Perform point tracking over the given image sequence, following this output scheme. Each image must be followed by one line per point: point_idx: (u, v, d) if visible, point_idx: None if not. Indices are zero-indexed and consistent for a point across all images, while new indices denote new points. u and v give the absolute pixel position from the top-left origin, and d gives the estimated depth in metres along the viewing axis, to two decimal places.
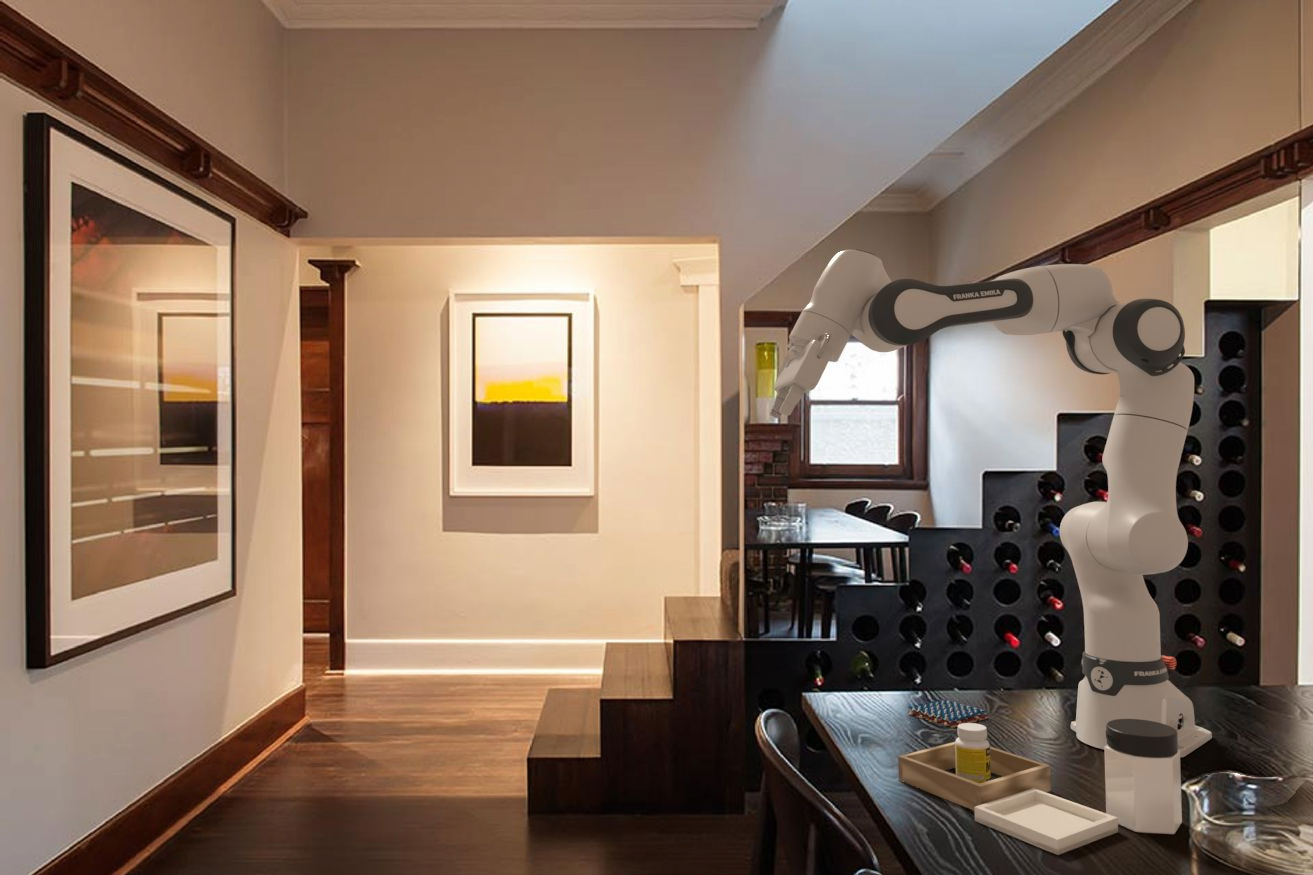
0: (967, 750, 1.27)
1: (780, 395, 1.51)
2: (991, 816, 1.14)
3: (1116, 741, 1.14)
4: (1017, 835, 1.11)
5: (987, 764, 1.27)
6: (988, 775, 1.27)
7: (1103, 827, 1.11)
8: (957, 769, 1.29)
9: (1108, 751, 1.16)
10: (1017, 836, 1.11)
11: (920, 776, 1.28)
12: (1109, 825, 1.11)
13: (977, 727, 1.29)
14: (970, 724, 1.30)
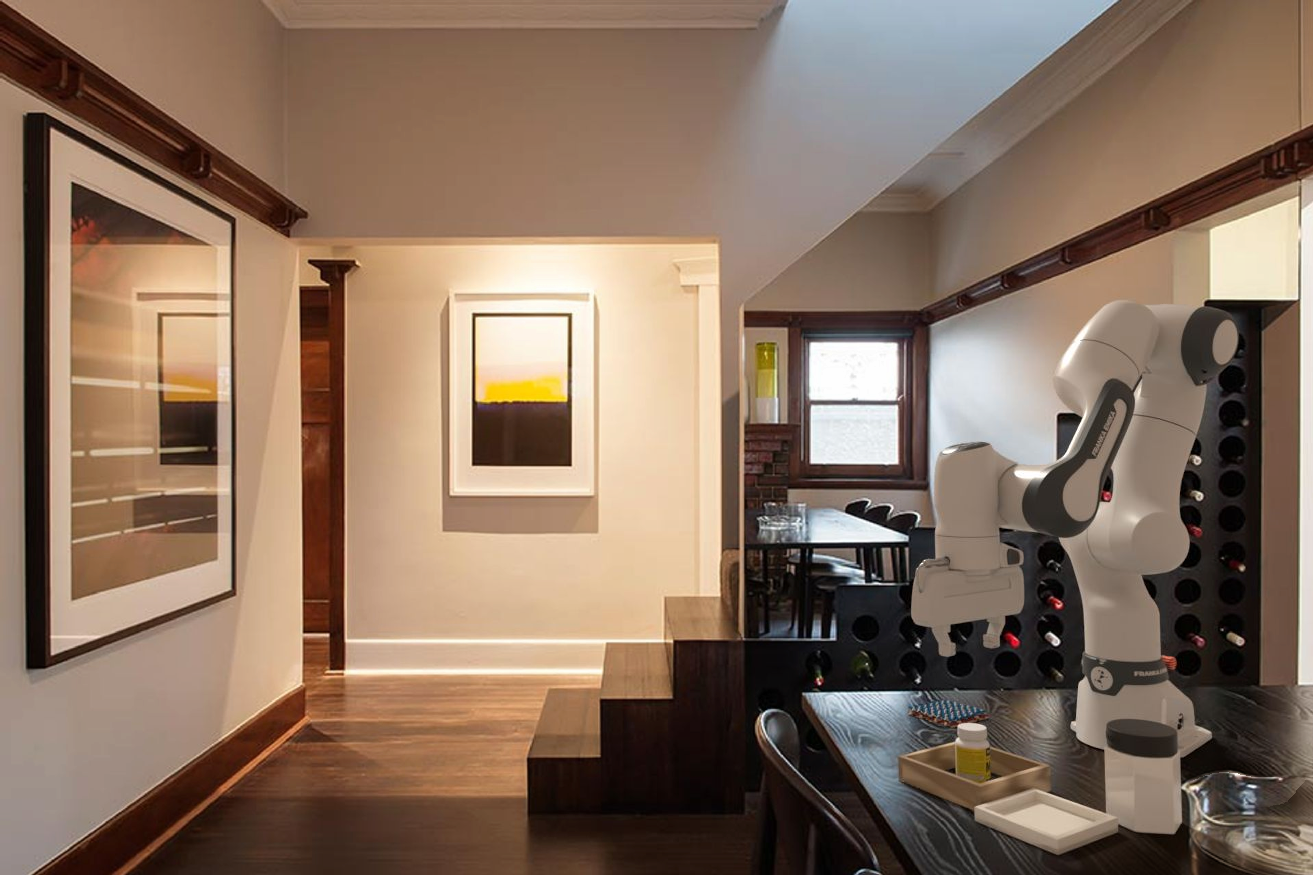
0: (967, 750, 1.27)
1: (989, 620, 1.33)
2: (991, 816, 1.14)
3: (1116, 741, 1.14)
4: (1017, 835, 1.11)
5: (987, 764, 1.27)
6: (988, 775, 1.27)
7: (1103, 827, 1.11)
8: (957, 769, 1.29)
9: (1108, 751, 1.16)
10: (1017, 836, 1.11)
11: (920, 776, 1.28)
12: (1109, 825, 1.11)
13: (977, 727, 1.29)
14: (970, 724, 1.30)
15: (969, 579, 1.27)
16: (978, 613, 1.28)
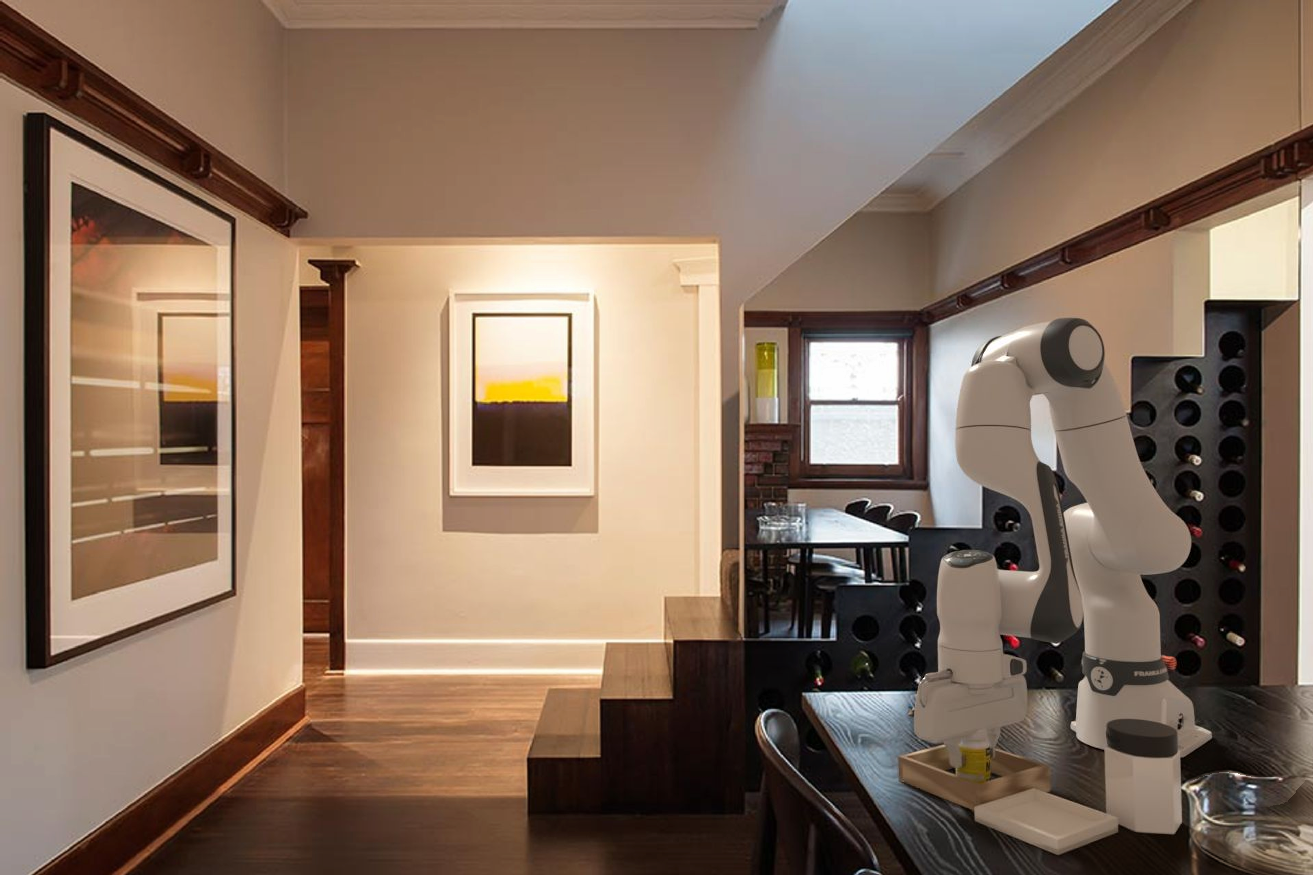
0: (967, 750, 1.27)
1: None
2: (991, 816, 1.14)
3: (1116, 741, 1.14)
4: (1017, 835, 1.11)
5: (987, 764, 1.27)
6: (988, 775, 1.27)
7: (1103, 827, 1.11)
8: (957, 768, 1.29)
9: (1108, 751, 1.16)
10: (1017, 836, 1.11)
11: (920, 776, 1.28)
12: (1109, 825, 1.11)
13: None
14: None
15: (972, 692, 1.26)
16: (981, 725, 1.28)
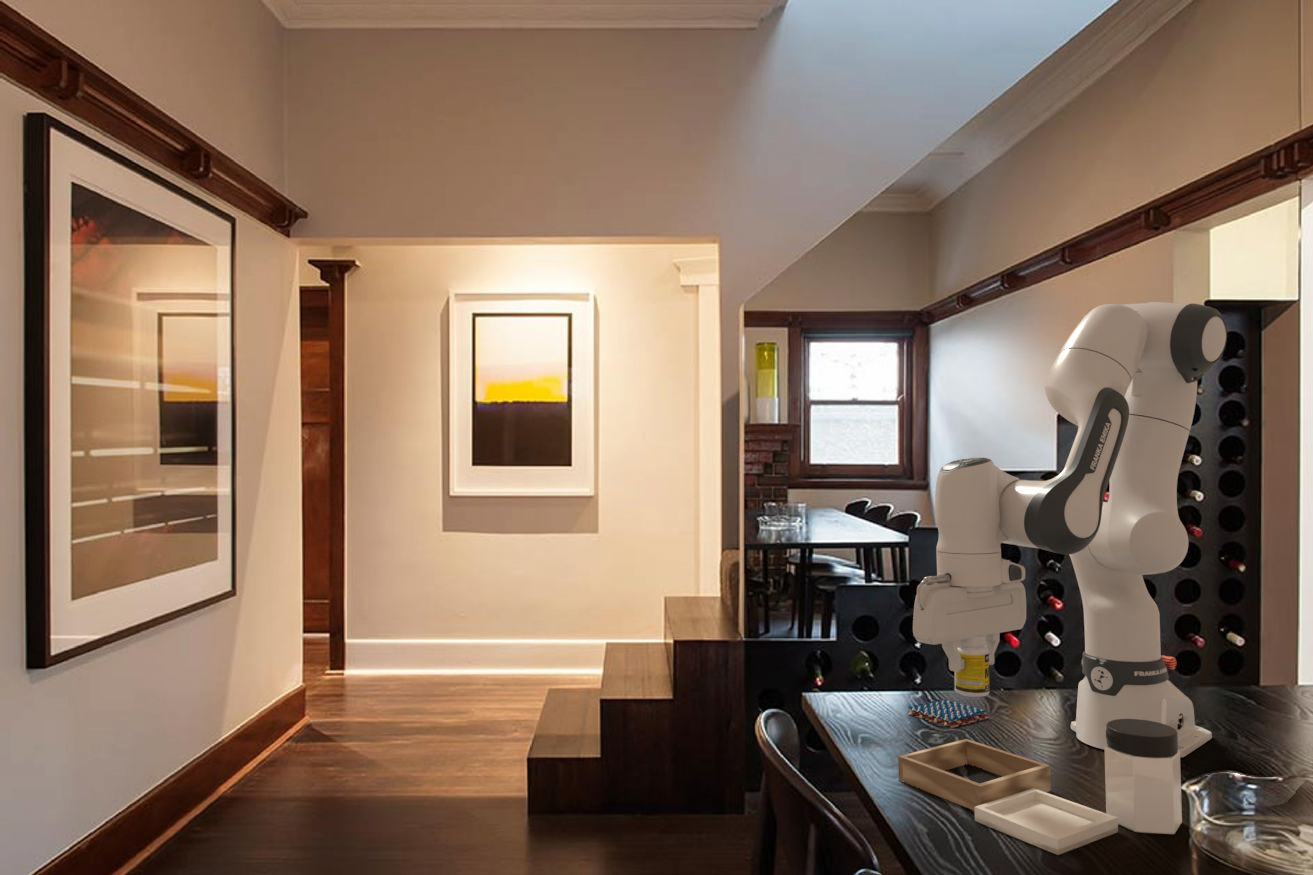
0: (966, 657, 1.27)
1: None
2: (991, 816, 1.14)
3: (1116, 741, 1.14)
4: (1017, 835, 1.11)
5: (986, 670, 1.27)
6: (987, 681, 1.27)
7: (1103, 827, 1.11)
8: (956, 676, 1.29)
9: (1108, 751, 1.16)
10: (1017, 836, 1.11)
11: (920, 776, 1.28)
12: (1109, 825, 1.11)
13: None
14: None
15: (971, 596, 1.26)
16: (980, 629, 1.28)
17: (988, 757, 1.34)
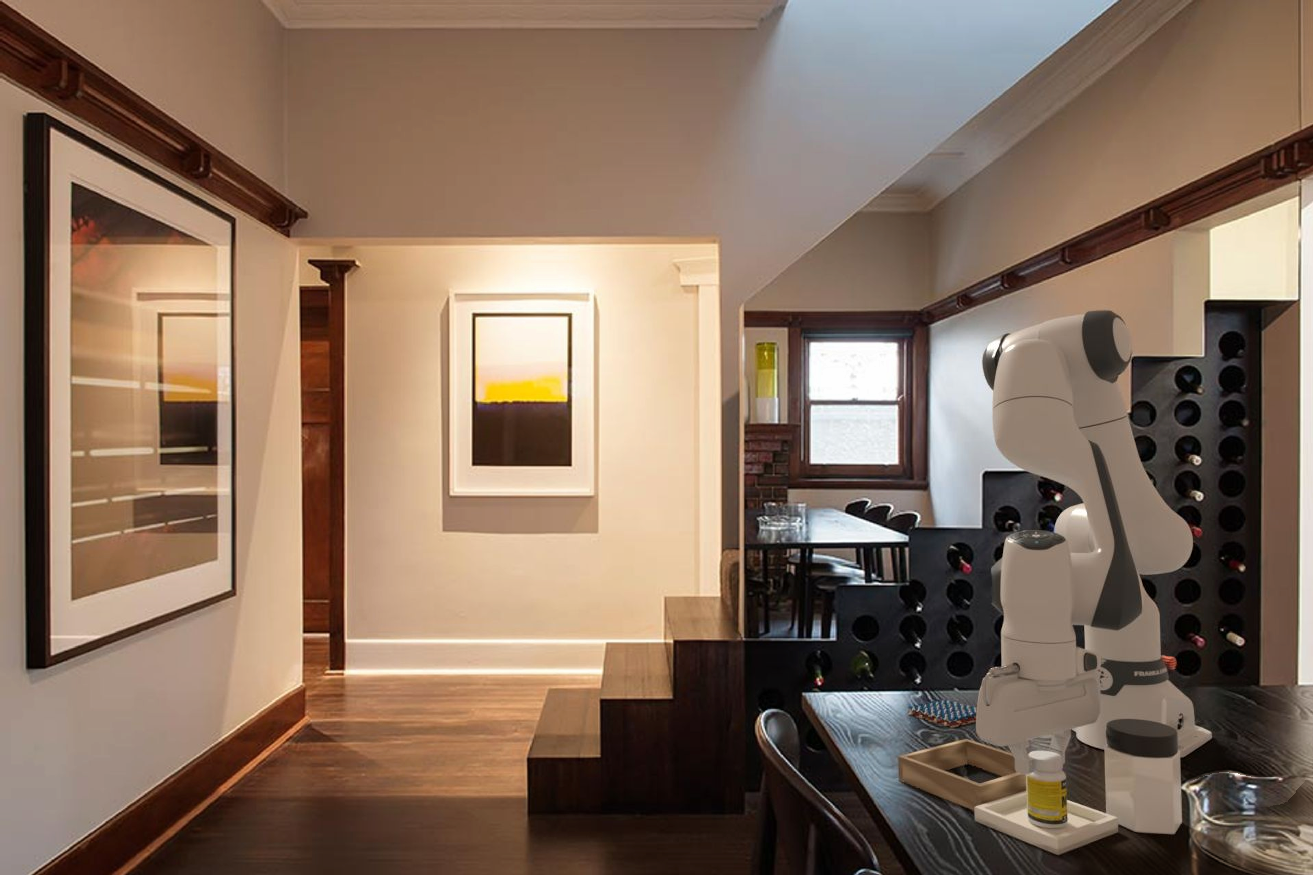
0: (1039, 783, 1.13)
1: (1053, 732, 1.17)
2: (991, 816, 1.14)
3: (1116, 741, 1.14)
4: (1017, 835, 1.11)
5: (1063, 798, 1.12)
6: (1064, 811, 1.12)
7: (1103, 827, 1.11)
8: (1029, 802, 1.14)
9: (1108, 751, 1.16)
10: (1017, 836, 1.11)
11: (920, 776, 1.28)
12: (1109, 825, 1.11)
13: (1051, 756, 1.14)
14: (1043, 752, 1.16)
15: (1042, 689, 1.12)
16: (1051, 727, 1.13)
17: (988, 757, 1.34)
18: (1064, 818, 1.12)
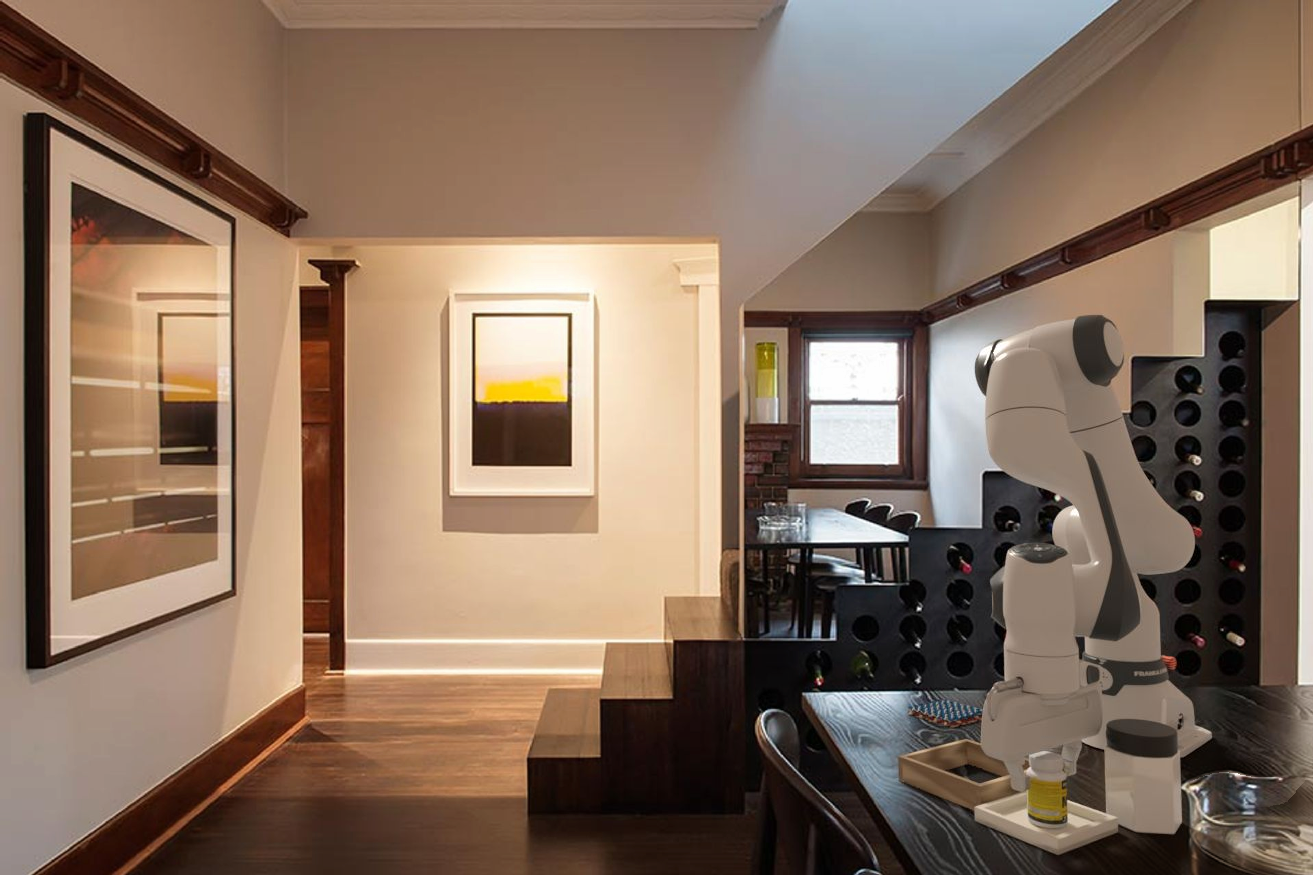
0: (1039, 782, 1.13)
1: None
2: (991, 816, 1.14)
3: (1116, 741, 1.14)
4: (1017, 835, 1.11)
5: (1063, 798, 1.12)
6: (1064, 811, 1.12)
7: (1103, 827, 1.11)
8: (1029, 802, 1.14)
9: (1108, 751, 1.16)
10: (1017, 836, 1.11)
11: (920, 776, 1.28)
12: (1109, 825, 1.11)
13: (1052, 756, 1.14)
14: (1043, 752, 1.16)
15: (1046, 703, 1.12)
16: (1055, 740, 1.13)
17: (988, 757, 1.34)
18: (1064, 818, 1.12)
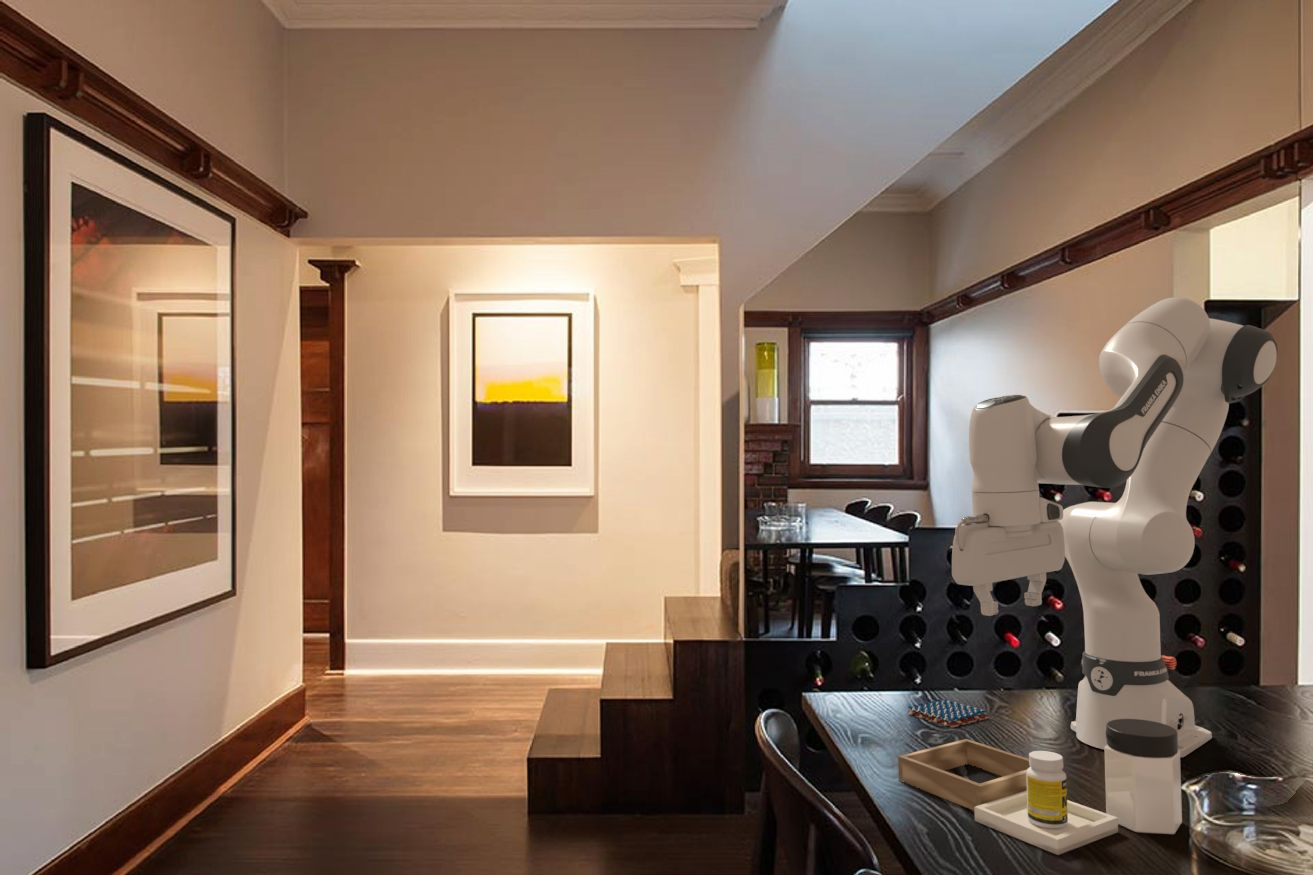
0: (1040, 782, 1.13)
1: (1030, 578, 1.29)
2: (991, 816, 1.14)
3: (1116, 741, 1.14)
4: (1017, 835, 1.11)
5: (1063, 799, 1.12)
6: (1064, 811, 1.12)
7: (1103, 827, 1.11)
8: (1029, 802, 1.14)
9: (1108, 751, 1.16)
10: (1017, 836, 1.11)
11: (920, 776, 1.28)
12: (1109, 825, 1.11)
13: (1052, 756, 1.14)
14: (1044, 752, 1.16)
15: (1010, 535, 1.23)
16: (1020, 570, 1.25)
17: (988, 757, 1.34)
18: (1064, 818, 1.12)
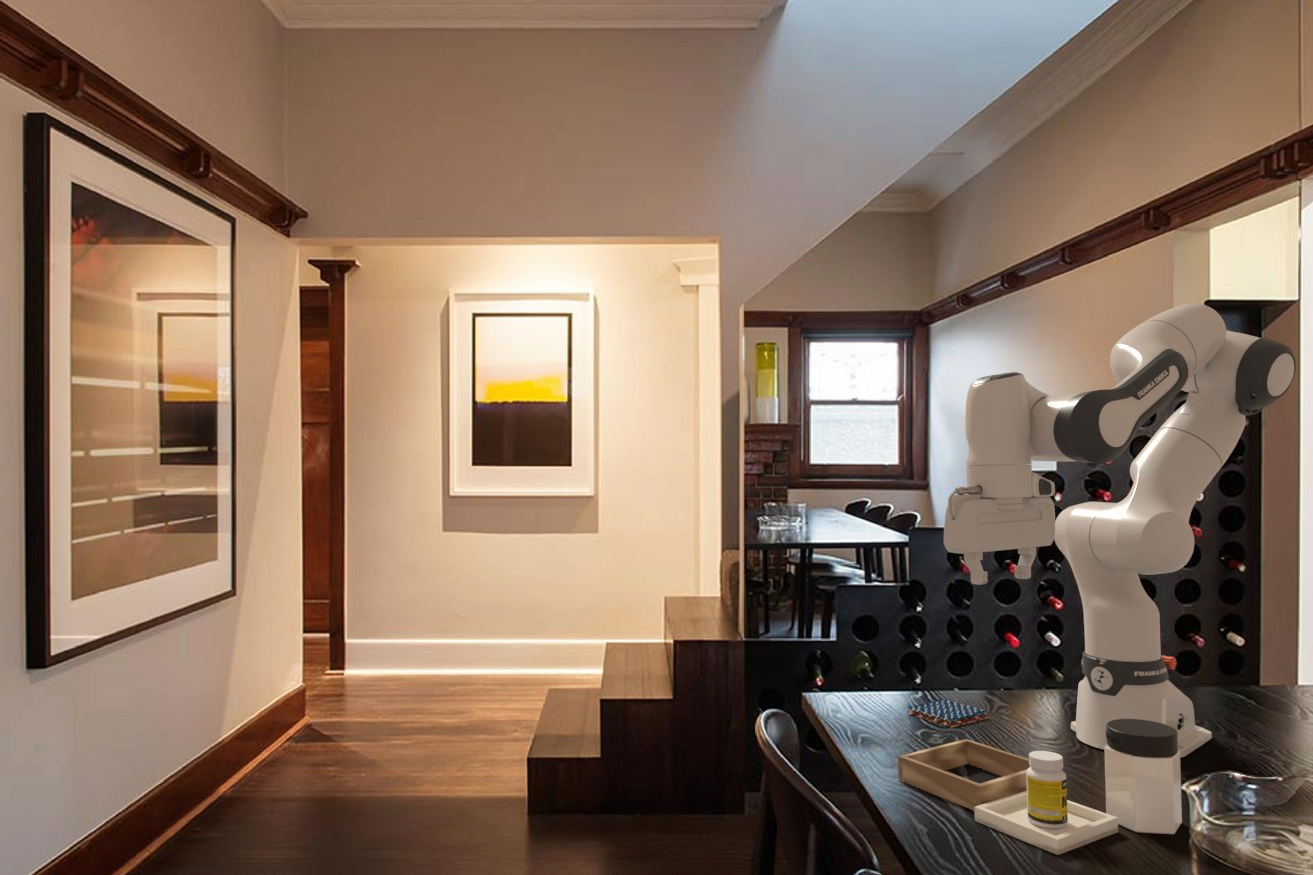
0: (1040, 782, 1.13)
1: (1020, 552, 1.33)
2: (991, 816, 1.14)
3: (1116, 741, 1.14)
4: (1017, 835, 1.11)
5: (1063, 799, 1.12)
6: (1064, 811, 1.12)
7: (1103, 827, 1.11)
8: (1029, 802, 1.14)
9: (1108, 751, 1.16)
10: (1017, 836, 1.11)
11: (920, 776, 1.28)
12: (1109, 825, 1.11)
13: (1052, 756, 1.14)
14: (1043, 752, 1.16)
15: (1001, 507, 1.27)
16: (1010, 542, 1.28)
17: (988, 757, 1.34)
18: (1064, 818, 1.12)
